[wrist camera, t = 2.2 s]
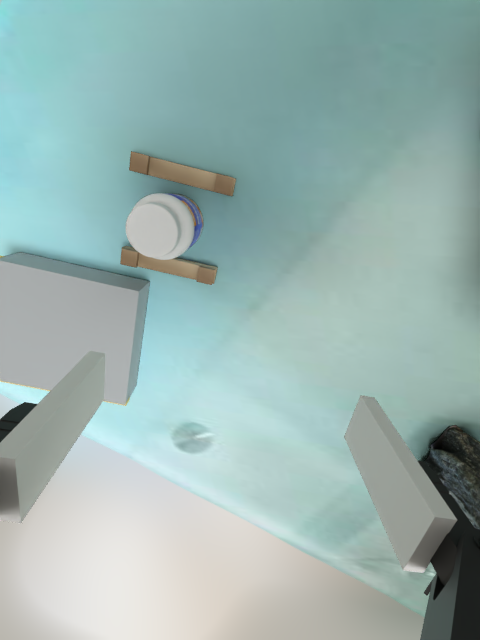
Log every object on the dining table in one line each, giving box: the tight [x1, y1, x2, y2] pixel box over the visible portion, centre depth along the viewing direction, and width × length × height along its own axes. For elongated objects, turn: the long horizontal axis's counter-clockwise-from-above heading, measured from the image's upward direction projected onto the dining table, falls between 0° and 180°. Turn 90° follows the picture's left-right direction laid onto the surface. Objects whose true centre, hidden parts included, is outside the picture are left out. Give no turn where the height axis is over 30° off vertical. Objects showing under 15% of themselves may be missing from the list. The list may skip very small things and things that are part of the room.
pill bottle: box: [126, 193, 203, 260], centre depth 28 cm, size 5×5×10 cm
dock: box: [0, 252, 150, 406], centre depth 35 cm, size 14×14×4 cm
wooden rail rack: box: [120, 151, 236, 285], centre depth 31 cm, size 11×10×2 cm
